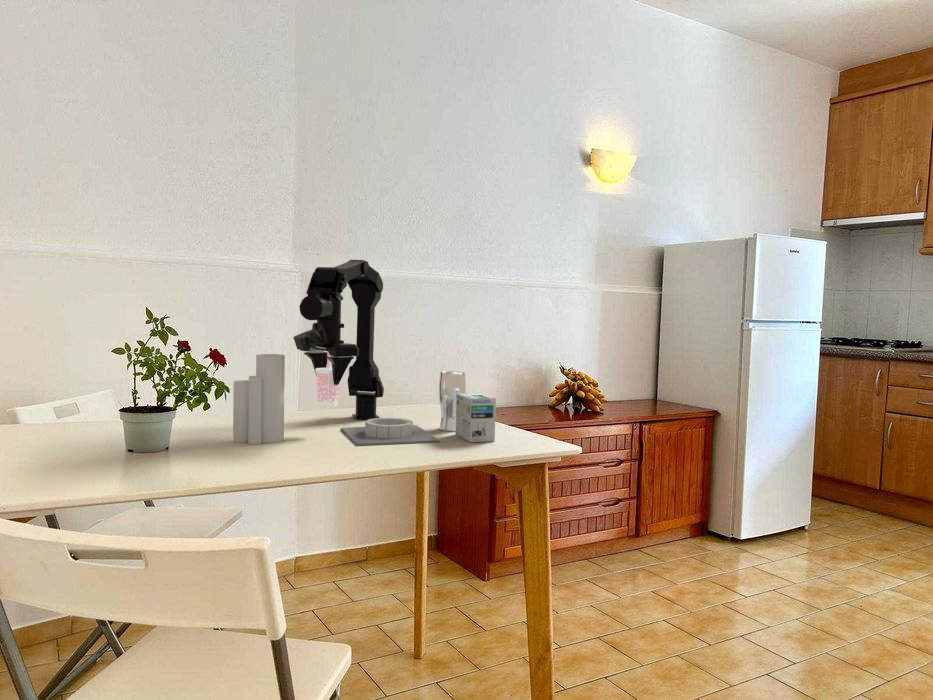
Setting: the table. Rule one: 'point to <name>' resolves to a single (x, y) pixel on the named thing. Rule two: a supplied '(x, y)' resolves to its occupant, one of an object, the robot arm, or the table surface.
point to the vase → (260, 402)
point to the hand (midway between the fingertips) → (327, 382)
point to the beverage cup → (326, 387)
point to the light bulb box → (475, 417)
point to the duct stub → (388, 432)
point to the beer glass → (450, 397)
